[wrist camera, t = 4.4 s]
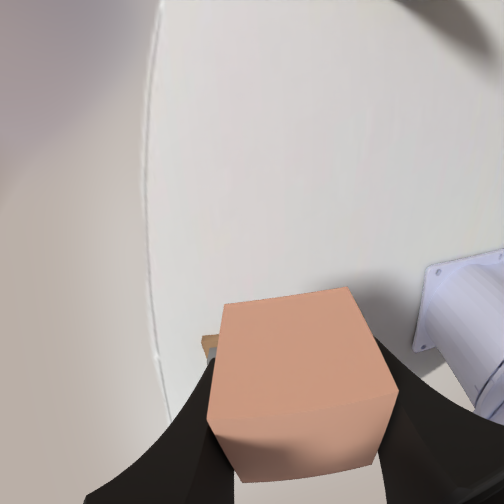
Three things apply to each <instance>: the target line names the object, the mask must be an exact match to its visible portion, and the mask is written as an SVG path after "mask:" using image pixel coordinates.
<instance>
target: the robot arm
mask: <svg viewBox="0 0 504 504" xmlns="http://www.w3.org/2000/svg"><path fill="white" fill-rule="evenodd" d="M438 269H439V270H438ZM437 270H438V272H437V273H436V271H437ZM373 337H374V339H375V341H376V343H377V345H378V347H379V349H380V351H381V353H382V355H383V358H384V360H385V362H386V364H387V366H388V368H389V370H390V372H391V375H392V377H393V379H394V381H395V383H396V386H397V388H398V390H399V392H398V395H397V399H396V402H395V405H394V408H393V411H392V414H391V417H390V420H389V422H388V425H387V428H386V431H385V433H384V436H383V438H382V441H381V443H380V446H379V448H378V454H379V459H380V464H381V469H382V474H383V480H384V486H385V492H386V499H387V504H504V248H503V249H500V250H495V251H491V252H487V253H483V254H479V255H475V256H470V257H466V258H462V259H457V260H453V261H448V262H444V263H439V264H434V265H430V266H429V267H428V268H427V269H426V271H425V277H424V285H423V292H422V299H421V305H420V311H419V316H418V322H417V327H416V332H415V337H414V341H413V346H412V350H413V351H414V352H415V353H418V352H421V351H424V350H428V349H431V348H434V347H437V348H438V350H439V351H440V353H441V354H442V356H443V357H444V359H445V360H446V362H447V363H448V365H449V367H450V368H451V370H452V371H453V373H454V374H455V376H456V378H457V379H458V381H459V382H460V384H461V386H462V387H463V389H464V391H465V392H466V394H467V396H468V397H469V399H470V401H471V403H472V404H473V406H474V408H475V410H474V412H470V411H469V410H466V409H464V408H463V407H461V406H459V405H457V404H455V403H454V402H452V401H450V400H449V399H447V398H446V397H444V396H443V395H441V394H440V393H438V392H437V391H435V390H434V389H433V388H431V387H430V386H429V385H427V384H426V383H425V382H424V381H422V380H421V379H420V378H419V377H418V376H416V375H415V374H414V373H413V372H412V371H411V370H409V369H408V368H407V367H406V366H405V365H404V364H403V363H401V362H400V361H399V360H398V359H397V358H396V357H395V356H394V355H393V354H392V353H391V352H390V351H389V350H388V349H387V348H386V347H385V346H384V345H383V344H382V343H381V342H380V341H379V340H378V339H377V338H376V337H375V336H373ZM215 359H216V358H212V359H211V360H210V362H209V364H208V366H207V368H206V370H205V371H204V373H203V375H202V377H201V379H200V380H199V382H198V384H197V386H196V387H195V389H194V391H193V392H192V394H191V395H190V397H189V399H188V400H187V402H186V403H185V405H184V406H183V408H182V409H181V411H180V412H179V413H178V415H177V416H176V418H175V419H174V420H173V422H172V423H171V424H170V426H169V427H168V428H167V429H166V431H165V432H164V433H163V434H162V435H161V436H160V438H159V439H158V440H157V441H156V442H155V443H154V444H153V445H152V446H151V447H150V448H149V449H148V450H147V451H146V452H145V453H144V454H143V455H142V456H141V457H140V458H139V459H138V460H137V461H136V462H135V463H133V464H132V465H131V466H130V467H128V468H127V469H126V470H124V471H123V472H122V473H121V474H119V475H118V476H117V477H115V478H114V479H113V480H111V481H110V482H108V483H106V484H105V485H103V486H102V487H100V488H98V489H97V490H95V491H93V492H92V493H90V494H88V495H86V498H85V500H84V503H83V504H234V468H233V467H232V465H231V463H230V462H229V460H228V458H227V456H226V455H225V453H224V451H223V449H222V448H221V446H220V444H219V442H218V440H217V438H216V437H215V435H214V433H213V431H212V429H211V427H210V425H209V423H208V421H207V412H208V406H209V399H210V392H211V385H212V379H213V372H214V366H215Z"/></svg>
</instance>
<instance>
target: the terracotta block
mask: <svg viewBox="0 0 504 504" xmlns="http://www.w3.org/2000/svg"><path fill="white" fill-rule="evenodd" d="M398 392H399V390H398V388H397V386H396V383H395V381H394V379H393V377H392V375H391V372H390V370H389V368H388V366H387V364H386V362H385V360H384V358H383V355H382V353H381V351H380V349H379V347H378V345H377V343H376V341H375V339H374V337H373V335H372V333H371V331H370V329H369V327H368V325H367V323H366V321H365V319H364V317H363V315H362V313H361V311H360V309H359V307H358V306H357V304H356V302H355V300H354V298H353V296H352V294H351V292H350V290H349V289H348V287H342V288H336V289H330V290H323V291H317V292H311V293H304V294H297V295H291V296H284V297H277V298H269V299H262V300H254V301H247V302H239V303H230V304H224V309H223V315H222V321H221V327H220V334H219V340H218V346H217V353H216V359H215V366H214V372H213V379H212V385H211V392H210V399H209V406H208V412H207V421H208V423H209V425H210V427H211V429H212V431H213V433H214V435H215V437H216V438H217V440H218V442H219V444H220V446H221V448H222V449H223V451H224V453H225V455H226V456H227V458H228V460H229V462H230V463H231V465H232V467H233V468H234V470H235V472H236V473H237V475H238V476H239V478H240V480H241V481H242V483H252V482H253V483H254V482H270V481H283V480H292V479H300V478H308V477H315V476H320V475H326V474H332V473H337V472H342V471H347V470H351V469H356V468H360V467H364V466H368V465H372V462H373V460H374V457H375V456H376V453H377V451H378V448H379V446H380V443H381V441H382V438H383V436H384V433H385V431H386V428H387V425H388V422H389V420H390V417H391V414H392V411H393V408H394V405H395V402H396V399H397V395H398Z"/></svg>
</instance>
